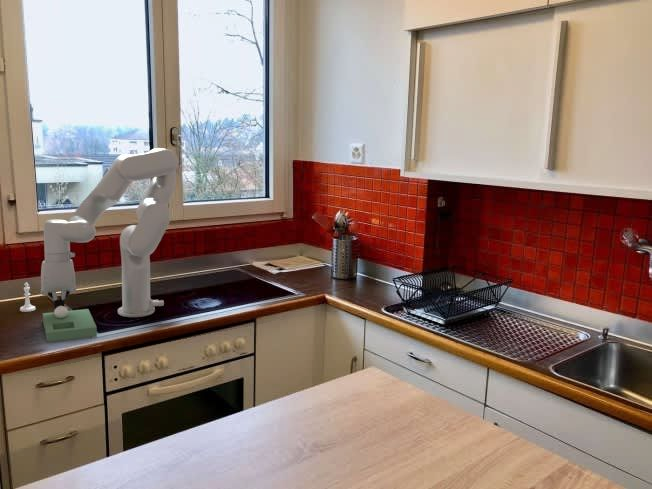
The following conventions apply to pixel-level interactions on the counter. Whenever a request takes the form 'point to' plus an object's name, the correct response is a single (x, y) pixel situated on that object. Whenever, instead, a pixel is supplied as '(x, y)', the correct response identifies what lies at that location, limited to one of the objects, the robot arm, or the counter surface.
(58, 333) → the green
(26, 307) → the chess piece
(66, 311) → the ball
